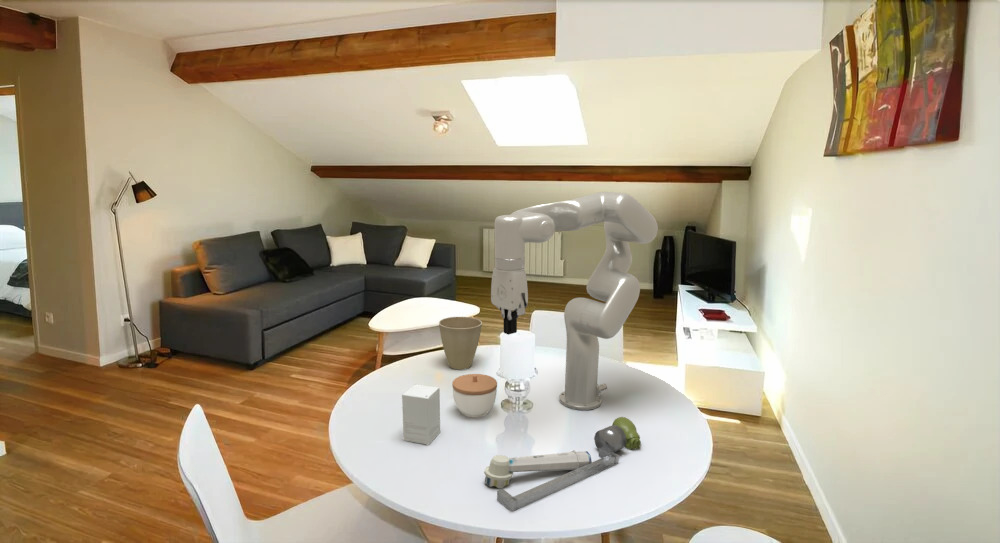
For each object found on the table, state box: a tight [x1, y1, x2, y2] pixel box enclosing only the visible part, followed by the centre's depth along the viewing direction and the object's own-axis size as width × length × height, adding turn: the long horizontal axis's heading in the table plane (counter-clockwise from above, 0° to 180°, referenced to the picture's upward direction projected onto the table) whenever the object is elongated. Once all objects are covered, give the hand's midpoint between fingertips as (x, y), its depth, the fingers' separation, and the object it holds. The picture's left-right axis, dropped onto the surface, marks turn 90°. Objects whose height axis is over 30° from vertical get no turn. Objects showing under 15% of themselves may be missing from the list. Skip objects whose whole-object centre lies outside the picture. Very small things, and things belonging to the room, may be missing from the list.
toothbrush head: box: [483, 449, 593, 489], centre depth 122 cm, size 5×7×25 cm
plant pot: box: [438, 316, 483, 371], centre depth 187 cm, size 15×15×16 cm
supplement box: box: [401, 383, 441, 446], centre depth 138 cm, size 7×7×13 cm
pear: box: [611, 416, 642, 450], centre depth 138 cm, size 6×5×10 cm
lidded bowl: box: [452, 373, 498, 419], centre depth 152 cm, size 13×13×11 cm
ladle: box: [496, 425, 627, 513], centre depth 123 cm, size 37×8×6 cm, turn 126°
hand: (510, 332), depth 141 cm, fingers closed
